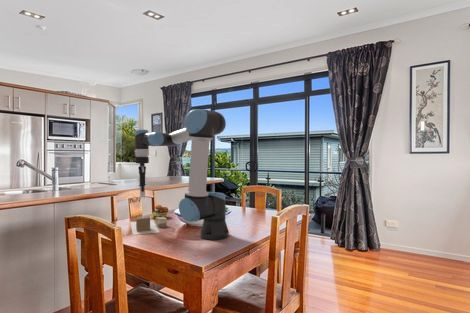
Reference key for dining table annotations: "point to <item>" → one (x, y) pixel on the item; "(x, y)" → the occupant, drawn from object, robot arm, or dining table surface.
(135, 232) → the placemat
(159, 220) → the maple block
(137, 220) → the walnut block
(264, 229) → the dining table surface
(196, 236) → the dining table surface
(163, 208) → the cheeseburger
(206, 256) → the dining table surface
